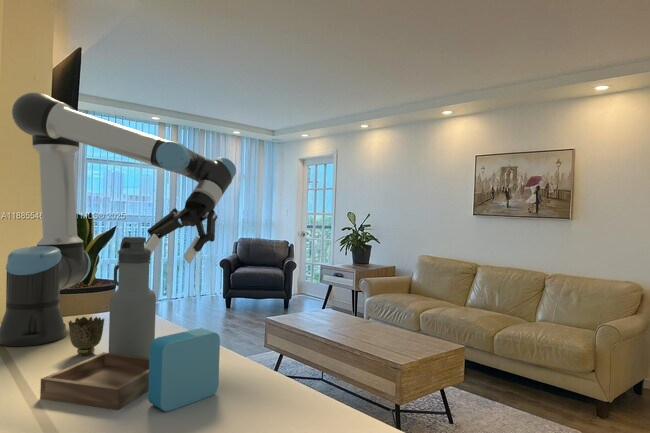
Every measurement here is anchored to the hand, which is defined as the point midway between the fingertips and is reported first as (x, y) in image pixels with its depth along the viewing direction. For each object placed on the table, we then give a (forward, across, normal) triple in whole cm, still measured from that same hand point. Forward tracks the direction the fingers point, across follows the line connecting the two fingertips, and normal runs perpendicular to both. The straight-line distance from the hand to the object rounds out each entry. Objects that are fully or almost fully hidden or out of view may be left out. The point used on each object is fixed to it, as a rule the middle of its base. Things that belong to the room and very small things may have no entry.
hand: (164, 258), depth 112 cm
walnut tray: (+33, -9, +2) cm, 34 cm away
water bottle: (+23, +1, -9) cm, 25 cm away
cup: (+25, +12, -7) cm, 28 cm away
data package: (+32, -25, 0) cm, 41 cm away
